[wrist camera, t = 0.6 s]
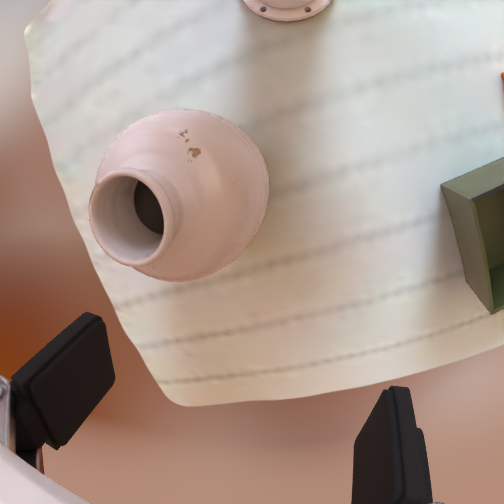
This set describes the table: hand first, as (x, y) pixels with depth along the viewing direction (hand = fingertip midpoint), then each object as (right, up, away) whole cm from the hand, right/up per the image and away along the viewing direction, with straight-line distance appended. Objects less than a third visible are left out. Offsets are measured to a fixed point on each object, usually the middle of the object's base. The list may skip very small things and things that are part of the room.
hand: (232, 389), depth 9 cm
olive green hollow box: (+34, +9, +25) cm, 43 cm away
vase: (-3, +15, +32) cm, 35 cm away
